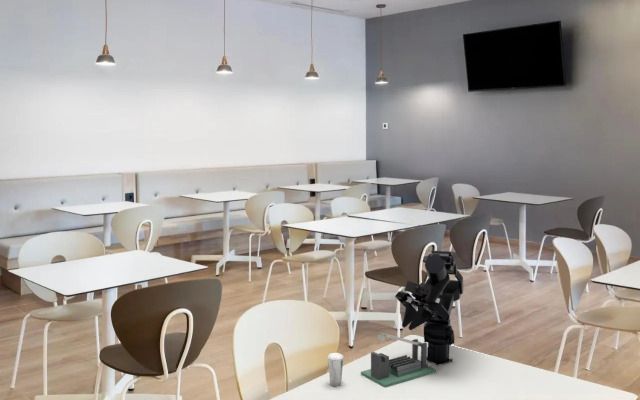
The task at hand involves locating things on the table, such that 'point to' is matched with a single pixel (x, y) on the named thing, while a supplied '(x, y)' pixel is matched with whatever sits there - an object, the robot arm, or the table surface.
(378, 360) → the lug block
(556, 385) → the table surface
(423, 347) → the bracket
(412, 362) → the heatsink
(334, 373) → the milkshake
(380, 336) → the metal bar
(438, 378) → the table surface
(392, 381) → the board
